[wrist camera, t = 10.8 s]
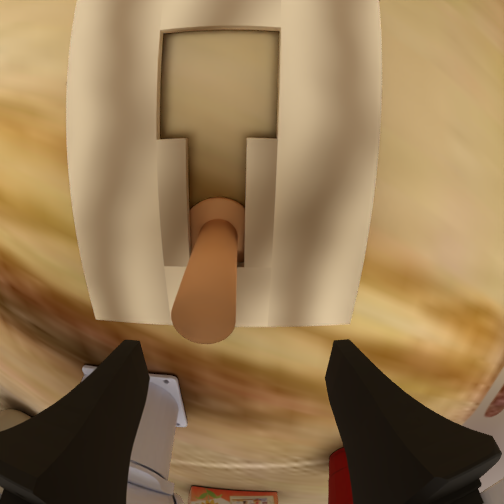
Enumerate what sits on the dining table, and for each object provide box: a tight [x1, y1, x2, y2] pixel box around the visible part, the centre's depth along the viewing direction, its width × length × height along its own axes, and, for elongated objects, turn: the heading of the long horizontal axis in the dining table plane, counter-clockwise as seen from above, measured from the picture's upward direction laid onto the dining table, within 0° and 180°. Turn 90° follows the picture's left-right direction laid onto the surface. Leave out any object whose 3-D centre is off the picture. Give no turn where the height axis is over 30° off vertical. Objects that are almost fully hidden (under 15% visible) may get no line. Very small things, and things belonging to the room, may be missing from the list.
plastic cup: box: [328, 447, 353, 504], centre depth 26 cm, size 11×11×12 cm
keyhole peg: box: [171, 197, 245, 344], centre depth 15 cm, size 5×5×9 cm
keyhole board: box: [66, 0, 382, 327], centre depth 16 cm, size 18×22×2 cm
